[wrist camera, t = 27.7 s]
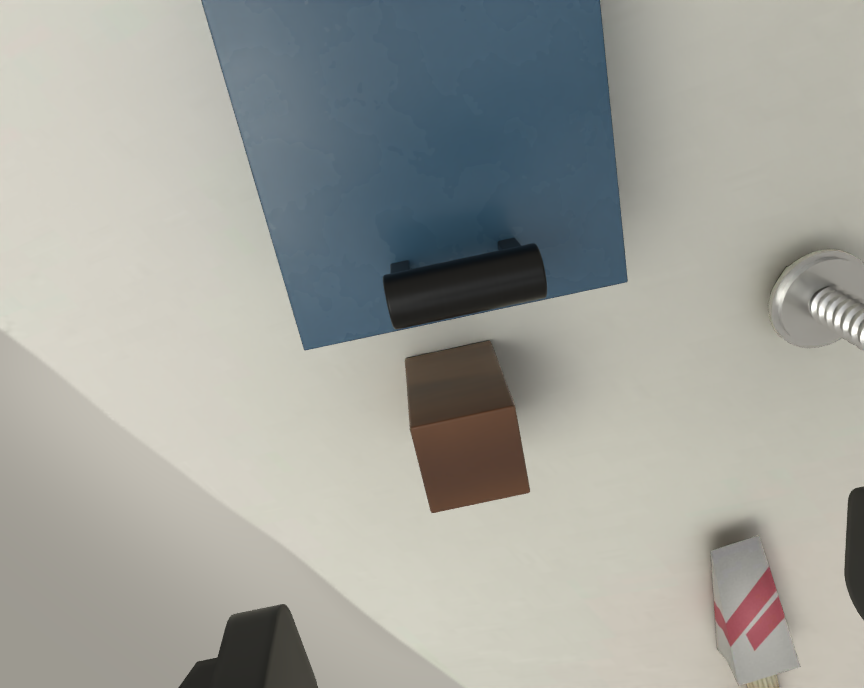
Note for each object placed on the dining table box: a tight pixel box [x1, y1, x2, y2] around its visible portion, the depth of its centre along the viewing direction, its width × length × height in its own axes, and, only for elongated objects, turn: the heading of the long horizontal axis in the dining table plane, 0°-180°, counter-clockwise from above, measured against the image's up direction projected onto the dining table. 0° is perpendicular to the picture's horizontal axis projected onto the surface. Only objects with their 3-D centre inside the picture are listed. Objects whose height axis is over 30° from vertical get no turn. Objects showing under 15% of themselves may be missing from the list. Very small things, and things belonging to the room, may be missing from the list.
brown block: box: [405, 341, 530, 513], centre depth 32 cm, size 4×4×7 cm
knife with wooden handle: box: [711, 535, 801, 688], centre depth 43 cm, size 4×3×20 cm
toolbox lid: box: [201, 0, 628, 350], centre depth 21 cm, size 18×13×5 cm
